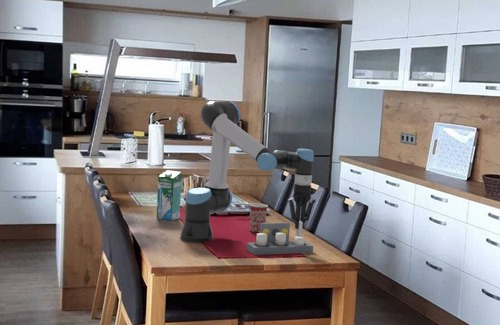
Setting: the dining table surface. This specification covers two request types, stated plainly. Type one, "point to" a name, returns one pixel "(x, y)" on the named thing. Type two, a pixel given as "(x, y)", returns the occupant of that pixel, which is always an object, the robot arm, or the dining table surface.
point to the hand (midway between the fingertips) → (298, 235)
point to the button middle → (280, 239)
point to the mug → (257, 216)
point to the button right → (298, 241)
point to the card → (275, 230)
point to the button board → (279, 248)
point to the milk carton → (169, 195)
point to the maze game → (237, 209)
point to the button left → (261, 240)
